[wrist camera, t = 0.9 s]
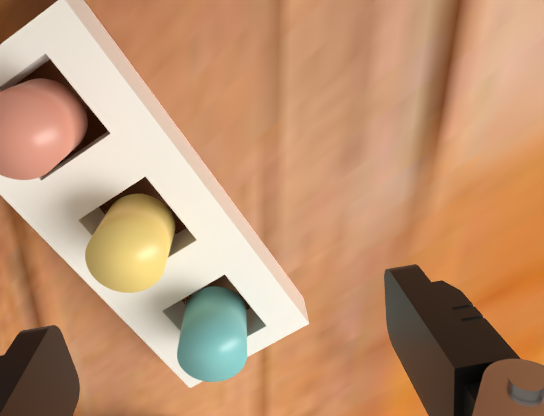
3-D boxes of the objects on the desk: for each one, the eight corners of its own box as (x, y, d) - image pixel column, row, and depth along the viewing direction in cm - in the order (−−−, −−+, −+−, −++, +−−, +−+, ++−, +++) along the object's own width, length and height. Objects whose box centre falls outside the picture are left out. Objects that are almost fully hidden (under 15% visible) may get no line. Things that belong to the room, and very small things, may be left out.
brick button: (50, 62, 24) (15, 74, 21) (103, 128, 26) (80, 150, 22) (-9, 106, 25) (-54, 125, 21) (46, 167, 27) (14, 195, 23)
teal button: (223, 275, 30) (221, 315, 27) (258, 318, 32) (260, 361, 28) (171, 305, 31) (162, 348, 27) (208, 346, 33) (204, 391, 29)
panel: (81, -3, 25) (62, -4, 23) (303, 297, 34) (309, 323, 32) (-52, 97, 27) (-85, 108, 24) (193, 358, 36) (189, 388, 33)
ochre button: (146, 181, 27) (131, 210, 24) (188, 233, 29) (181, 268, 25) (91, 216, 28) (68, 251, 24) (135, 265, 30) (120, 305, 26)
